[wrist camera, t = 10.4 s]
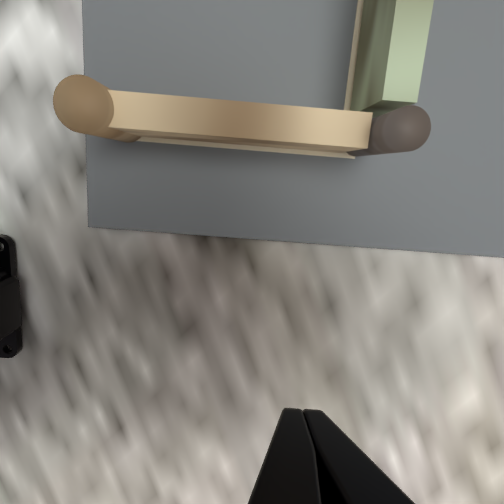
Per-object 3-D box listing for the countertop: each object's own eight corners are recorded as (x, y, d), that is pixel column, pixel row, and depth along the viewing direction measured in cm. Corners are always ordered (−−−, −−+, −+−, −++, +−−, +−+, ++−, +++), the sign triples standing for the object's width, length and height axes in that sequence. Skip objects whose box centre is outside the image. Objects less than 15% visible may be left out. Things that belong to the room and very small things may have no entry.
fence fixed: (107, 141, 16) (41, 128, 11) (106, 99, 16) (37, 65, 11) (368, 162, 17) (425, 159, 12) (374, 121, 16) (436, 100, 11)
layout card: (91, 225, 18) (87, 227, 17) (79, -274, 13) (72, -290, 13) (577, 261, 19) (586, 264, 18) (715, -199, 14) (731, -212, 14)
